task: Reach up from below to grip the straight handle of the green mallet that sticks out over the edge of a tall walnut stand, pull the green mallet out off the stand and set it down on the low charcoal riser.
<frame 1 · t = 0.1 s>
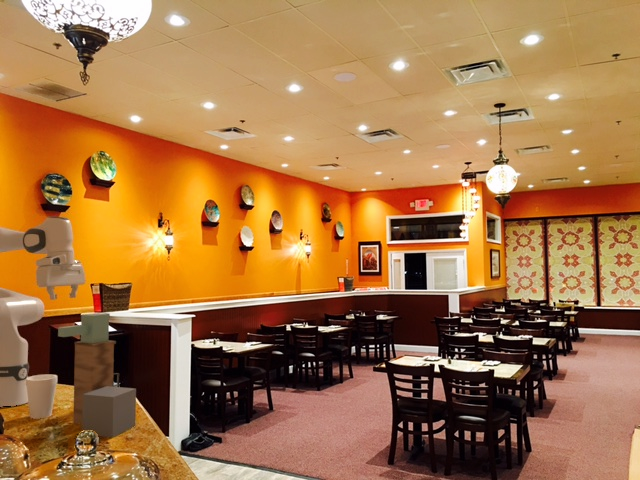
hand: (63, 298, 190), 39 cm above the countertop, tool pointing down, fingers open, 8 cm apart
foam cup: (40, 416, 179), on the countertop
stand: (92, 421, 173), on the countertop
green mallet: (94, 341, 174), point 26 cm above the countertop, touching stand
riser: (109, 430, 164), on the countertop
french press: (101, 408, 189), on the countertop
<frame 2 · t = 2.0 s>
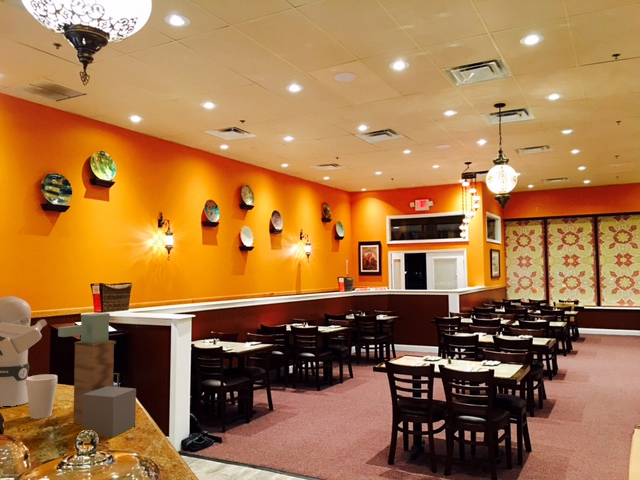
hand: (35, 320, 160), 35 cm above the countertop, tool pointing upward, fingers open, 8 cm apart
nothing on the countertop moved.
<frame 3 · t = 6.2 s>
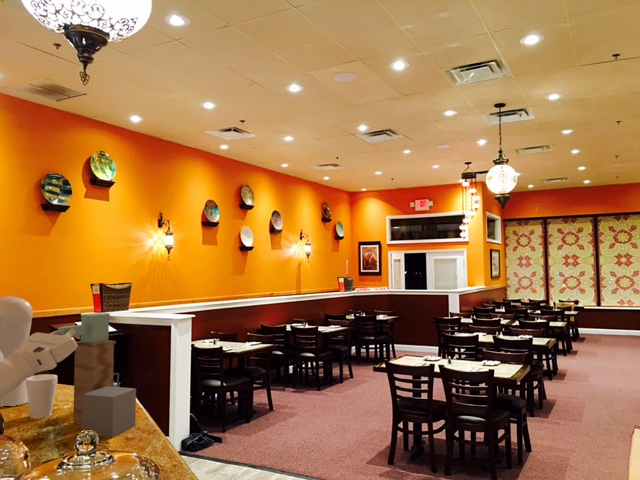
hand: (69, 329, 167), 31 cm above the countertop, tool pointing upward, fingers closed on green mallet, 3 cm apart
green mallet: (94, 341, 174), point 26 cm above the countertop, touching gripper, stand
everything else where it was.
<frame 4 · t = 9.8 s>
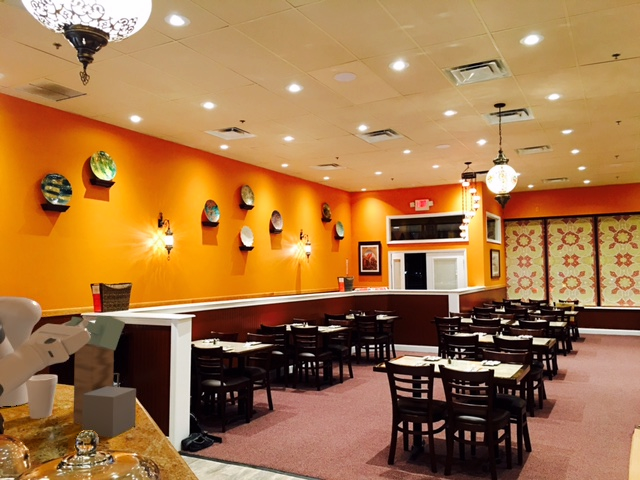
hand: (81, 320, 157), 35 cm above the countertop, tool pointing upward, fingers closed on green mallet, 3 cm apart
green mallet: (101, 347, 163), point 26 cm above the countertop, tilted 22°, touching gripper
everything else where it was.
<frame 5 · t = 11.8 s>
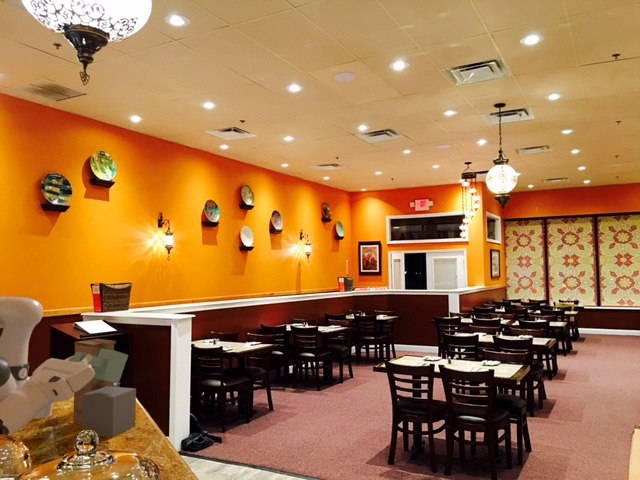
hand: (85, 355, 157), 25 cm above the countertop, tool pointing upward, fingers closed on green mallet, 3 cm apart
green mallet: (104, 380, 162), point 16 cm above the countertop, tilted 22°, touching gripper
everything else where it was.
when the fingers open (19 cm above the countertop, at t = 13.3 s): green mallet stays where it is, resting on riser.
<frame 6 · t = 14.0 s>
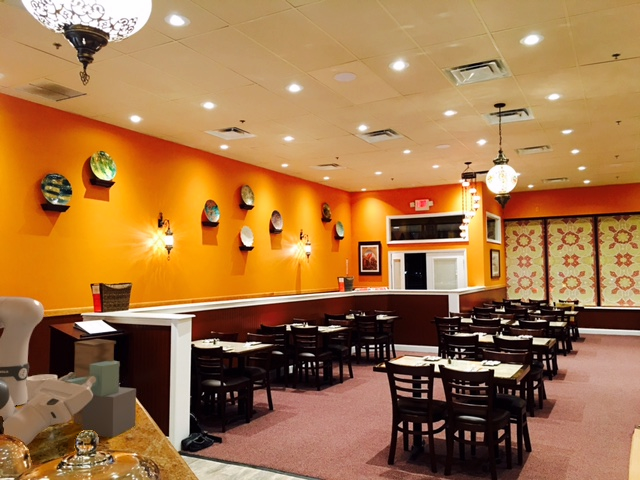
hand: (83, 375, 157), 18 cm above the countertop, tool pointing upward, fingers open, 8 cm apart
green mallet: (103, 393, 163), point 12 cm above the countertop, touching riser
everything else where it was.
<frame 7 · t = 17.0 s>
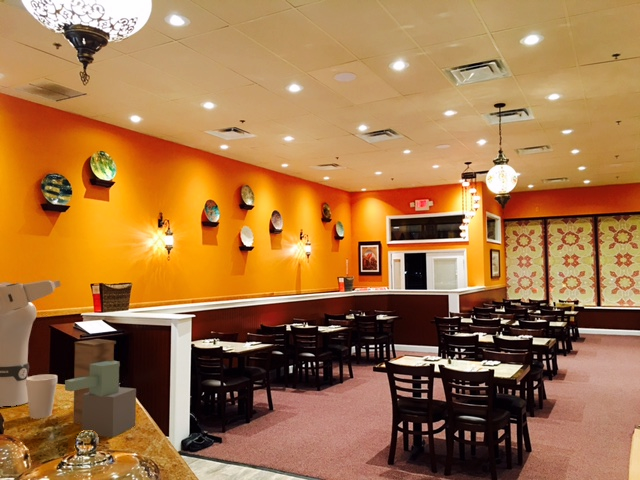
hand: (49, 285, 158), 45 cm above the countertop, tool horizontal, fingers open, 8 cm apart
nothing on the countertop moved.
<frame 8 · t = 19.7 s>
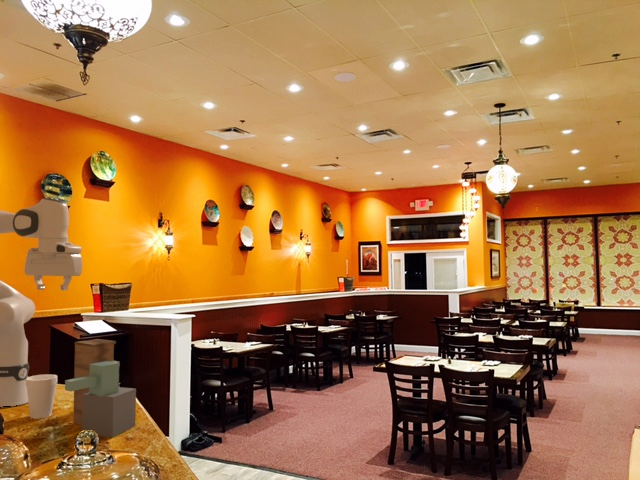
hand: (52, 289, 173), 43 cm above the countertop, tool pointing down, fingers open, 8 cm apart
nothing on the countertop moved.
at the end: green mallet inside the target area (2.3 cm from its centre), point 12.0 cm above the countertop; green mallet tilted 0°; the gripper is holding nothing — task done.
